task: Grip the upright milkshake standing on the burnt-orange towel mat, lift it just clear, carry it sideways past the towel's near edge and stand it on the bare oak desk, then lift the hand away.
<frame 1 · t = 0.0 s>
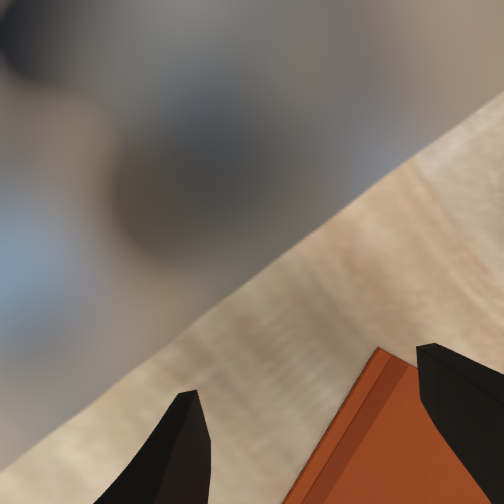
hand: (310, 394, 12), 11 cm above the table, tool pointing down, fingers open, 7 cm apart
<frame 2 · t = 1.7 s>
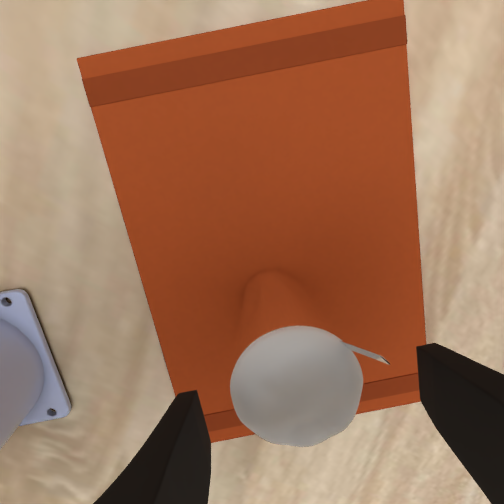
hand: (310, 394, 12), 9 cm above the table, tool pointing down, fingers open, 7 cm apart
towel: (279, 253, 20), on the table
milkshake: (277, 290, 21), resting on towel
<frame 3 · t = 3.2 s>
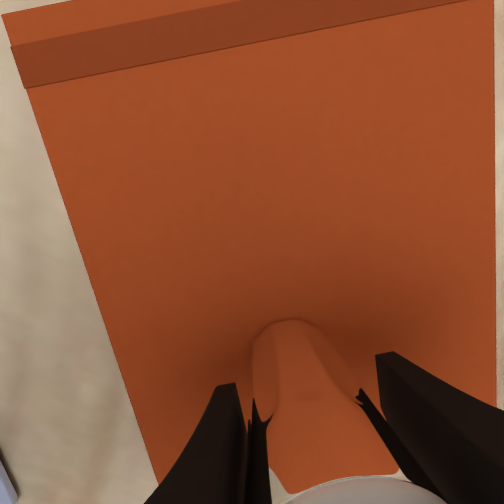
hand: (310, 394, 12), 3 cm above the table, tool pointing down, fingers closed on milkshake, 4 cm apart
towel: (300, 295, 15), on the table
milkshake: (296, 345, 15), resting on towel, touching gripper
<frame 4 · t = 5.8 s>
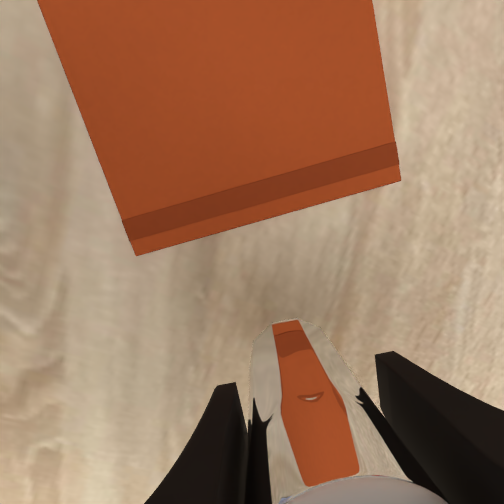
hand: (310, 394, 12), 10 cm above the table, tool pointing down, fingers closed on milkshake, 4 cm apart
milkshake: (296, 344, 15), point 7 cm above the table, touching gripper
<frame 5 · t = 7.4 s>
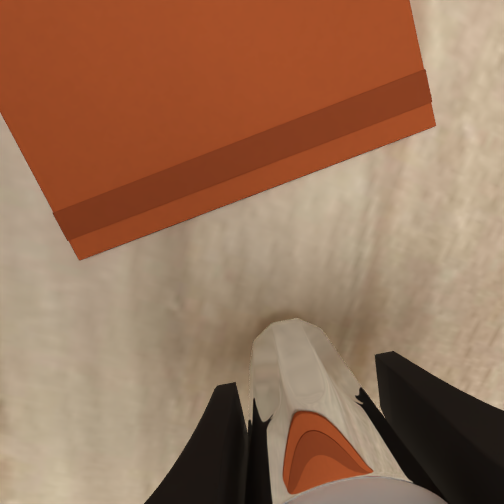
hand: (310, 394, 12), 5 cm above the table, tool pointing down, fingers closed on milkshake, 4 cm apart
milkshake: (296, 345, 15), point 2 cm above the table, touching gripper
when the fingers open (3 cm above the table, at t = 8.5 s): milkshake stays where it is, on the table.
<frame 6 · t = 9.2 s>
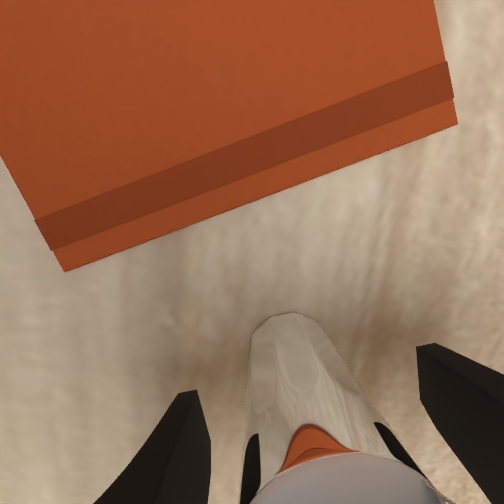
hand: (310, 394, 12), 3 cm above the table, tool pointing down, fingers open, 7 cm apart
milkshake: (294, 338, 16), on the table
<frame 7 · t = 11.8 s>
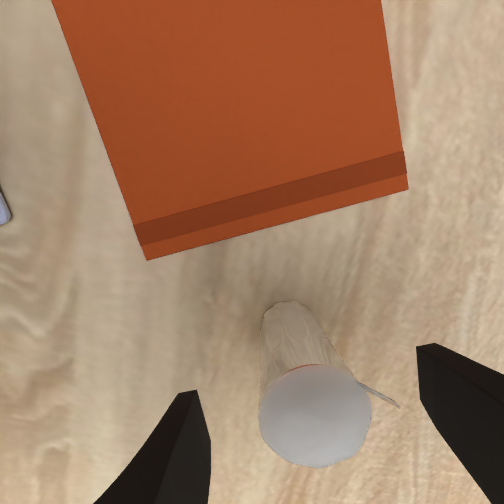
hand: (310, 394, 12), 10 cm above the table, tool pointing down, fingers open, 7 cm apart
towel: (220, 7, 18), on the table
milkshake: (292, 319, 23), on the table
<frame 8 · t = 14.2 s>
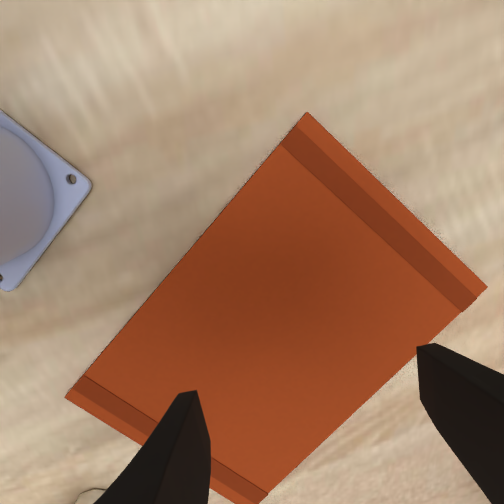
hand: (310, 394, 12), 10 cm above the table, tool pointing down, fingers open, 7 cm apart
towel: (272, 340, 23), on the table
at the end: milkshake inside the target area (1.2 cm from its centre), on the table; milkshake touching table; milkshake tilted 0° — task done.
